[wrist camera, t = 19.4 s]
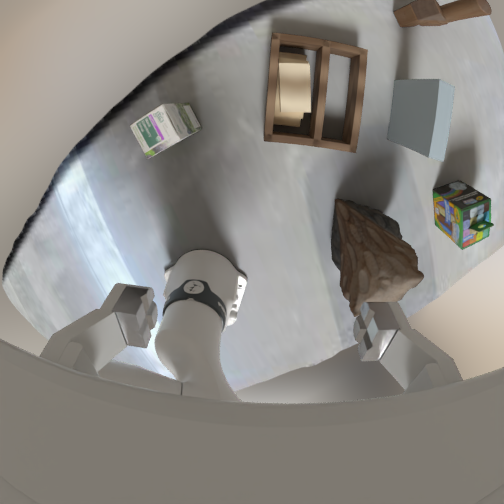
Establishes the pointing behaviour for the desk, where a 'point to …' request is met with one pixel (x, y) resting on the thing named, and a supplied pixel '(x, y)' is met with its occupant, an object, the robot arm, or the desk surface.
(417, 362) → the robot arm
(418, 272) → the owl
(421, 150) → the tall sheet
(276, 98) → the middle pine offcut
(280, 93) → the short pine offcut
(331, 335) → the desk surface
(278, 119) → the long pine offcut
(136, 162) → the desk surface
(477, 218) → the chalk box
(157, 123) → the syrup box
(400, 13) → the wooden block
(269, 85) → the walnut rack
